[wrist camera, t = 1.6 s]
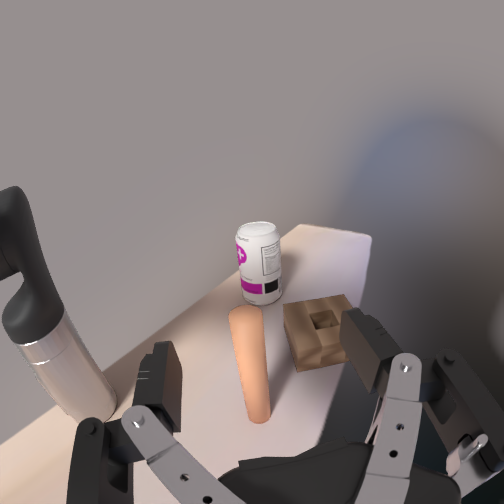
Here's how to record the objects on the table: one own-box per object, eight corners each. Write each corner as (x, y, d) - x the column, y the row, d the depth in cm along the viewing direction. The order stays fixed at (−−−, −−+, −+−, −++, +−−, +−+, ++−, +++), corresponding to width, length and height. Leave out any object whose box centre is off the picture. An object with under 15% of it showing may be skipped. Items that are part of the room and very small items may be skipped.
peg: (249, 424, 30) (228, 328, 22) (247, 407, 33) (228, 306, 25) (272, 421, 30) (264, 323, 22) (269, 404, 33) (260, 302, 25)
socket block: (297, 372, 38) (298, 350, 35) (283, 326, 47) (283, 304, 45) (363, 357, 38) (369, 335, 36) (341, 315, 48) (343, 294, 46)
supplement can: (244, 309, 53) (235, 239, 46) (242, 286, 60) (234, 223, 54) (285, 304, 53) (282, 234, 47) (278, 282, 61) (275, 218, 54)
